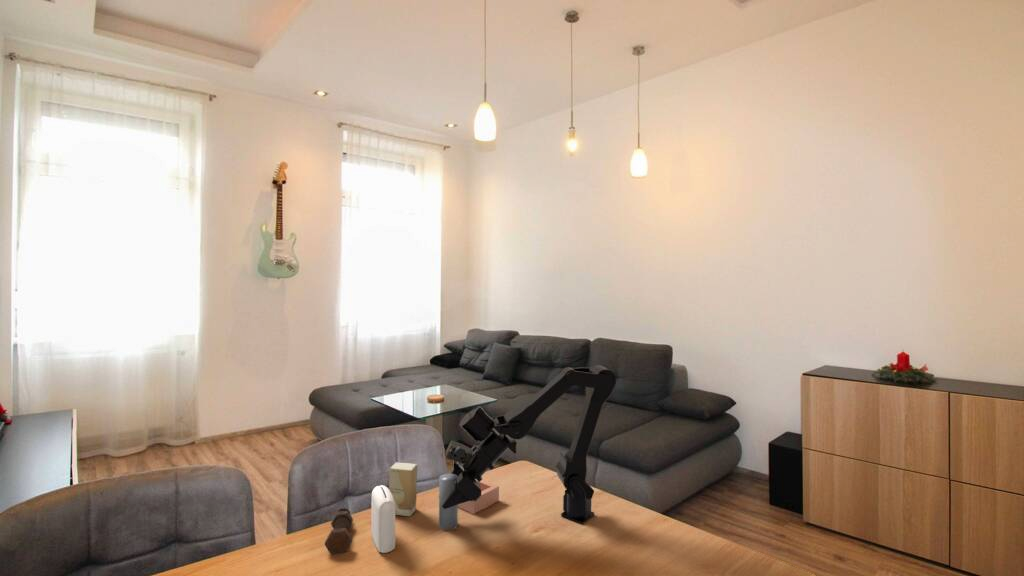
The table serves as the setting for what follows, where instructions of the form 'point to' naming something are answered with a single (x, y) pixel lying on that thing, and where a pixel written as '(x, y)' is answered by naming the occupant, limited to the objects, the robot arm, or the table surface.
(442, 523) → the grey dome-topped post
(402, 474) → the skincare box
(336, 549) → the bolt
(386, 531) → the photo printer
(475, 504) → the tray
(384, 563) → the table surface
